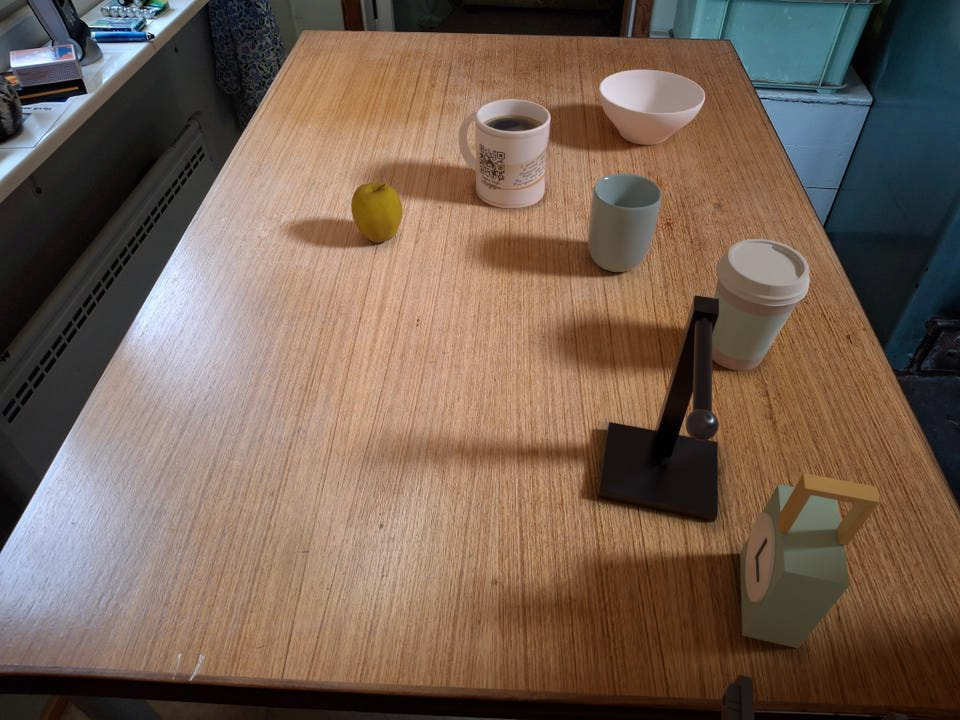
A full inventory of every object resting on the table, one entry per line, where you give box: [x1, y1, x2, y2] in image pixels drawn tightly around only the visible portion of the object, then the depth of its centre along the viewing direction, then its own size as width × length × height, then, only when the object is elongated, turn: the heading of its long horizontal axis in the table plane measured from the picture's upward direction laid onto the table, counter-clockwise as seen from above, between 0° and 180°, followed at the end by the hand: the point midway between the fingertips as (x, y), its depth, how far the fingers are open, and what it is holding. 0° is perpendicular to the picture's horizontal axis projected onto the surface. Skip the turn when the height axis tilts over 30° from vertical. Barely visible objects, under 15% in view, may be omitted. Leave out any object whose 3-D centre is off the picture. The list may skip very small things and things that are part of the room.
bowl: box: [598, 69, 706, 146], centre depth 105 cm, size 16×16×7 cm
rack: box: [597, 294, 720, 523], centre depth 52 cm, size 10×14×18 cm
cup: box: [587, 173, 663, 273], centre depth 80 cm, size 8×8×10 cm
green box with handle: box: [739, 472, 881, 649], centre depth 47 cm, size 5×7×15 cm, turn 166°
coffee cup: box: [712, 238, 811, 372], centre depth 68 cm, size 8×8×12 cm
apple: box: [350, 182, 403, 244], centre depth 84 cm, size 6×6×8 cm
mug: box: [457, 98, 552, 209], centre depth 92 cm, size 10×12×11 cm
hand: (815, 698), depth 40 cm, fingers open, 8 cm apart
